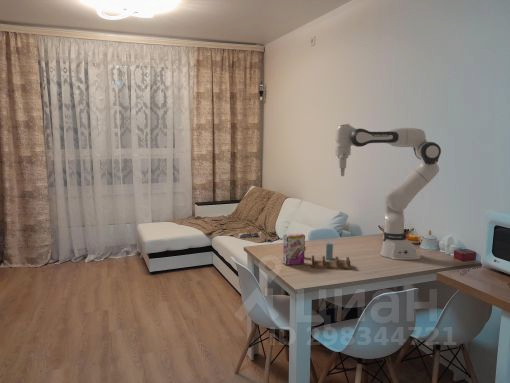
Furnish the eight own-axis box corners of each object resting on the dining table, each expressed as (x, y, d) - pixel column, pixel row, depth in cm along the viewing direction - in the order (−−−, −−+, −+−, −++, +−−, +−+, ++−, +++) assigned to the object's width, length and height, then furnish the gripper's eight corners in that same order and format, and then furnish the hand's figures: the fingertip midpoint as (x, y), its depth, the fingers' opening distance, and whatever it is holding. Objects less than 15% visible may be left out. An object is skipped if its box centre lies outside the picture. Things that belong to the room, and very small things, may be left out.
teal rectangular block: (331, 257, 239) (332, 242, 238) (332, 259, 235) (332, 244, 234) (325, 257, 240) (326, 242, 239) (326, 259, 236) (326, 244, 235)
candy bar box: (286, 266, 223) (287, 236, 221) (282, 263, 228) (283, 234, 225) (304, 263, 227) (305, 234, 225) (300, 261, 232) (301, 232, 230)
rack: (348, 264, 228) (348, 256, 227) (350, 269, 218) (350, 262, 217) (311, 262, 230) (312, 255, 229) (311, 267, 220) (312, 260, 220)
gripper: (349, 152, 231) (348, 176, 233) (347, 152, 251) (347, 175, 253) (337, 152, 233) (337, 176, 234) (337, 152, 253) (336, 175, 254)
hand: (342, 175), depth 243 cm, fingers open, 8 cm apart
